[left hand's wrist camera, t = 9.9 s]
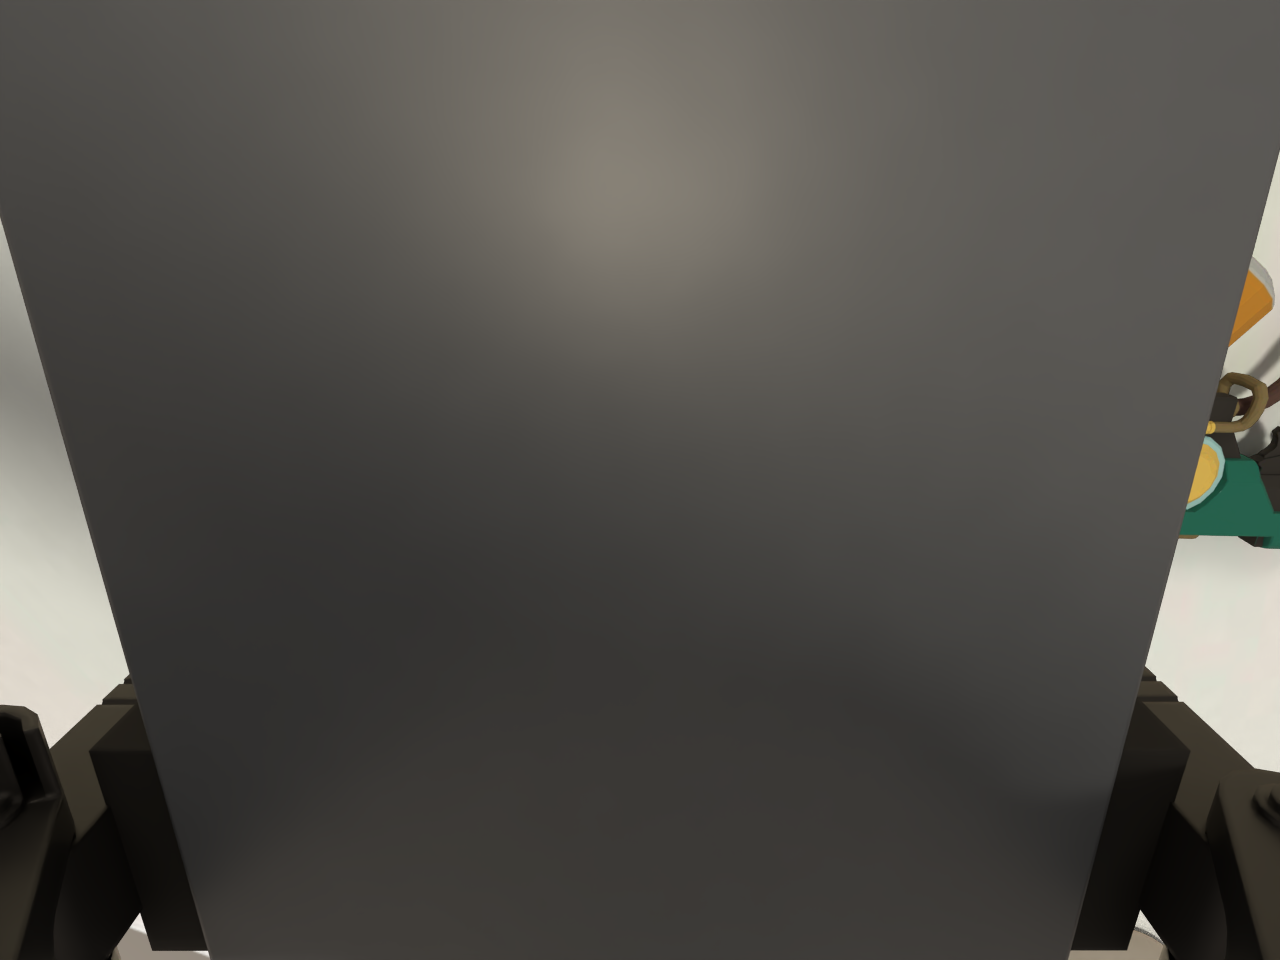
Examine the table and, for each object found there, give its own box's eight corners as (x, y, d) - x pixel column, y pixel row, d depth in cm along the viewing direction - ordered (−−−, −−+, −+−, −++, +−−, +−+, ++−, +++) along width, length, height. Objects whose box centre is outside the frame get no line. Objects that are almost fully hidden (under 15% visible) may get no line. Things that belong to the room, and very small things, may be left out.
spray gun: (1457, 306, 32) (1241, 597, 37) (1126, 170, 29) (944, 506, 34) (1577, 327, 28) (1315, 649, 33) (1207, 173, 25) (988, 551, 31)
